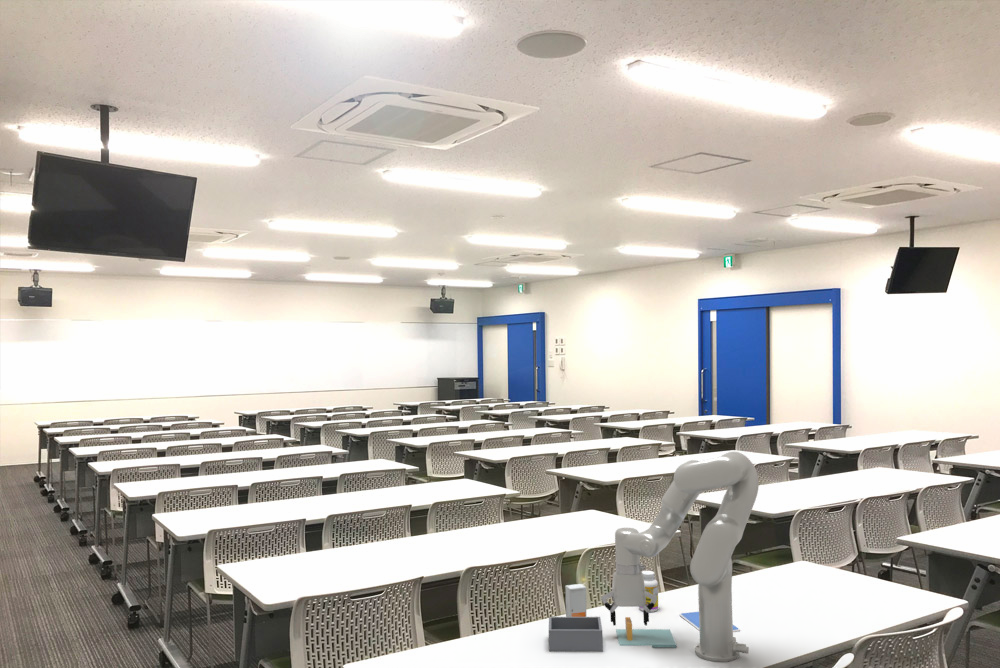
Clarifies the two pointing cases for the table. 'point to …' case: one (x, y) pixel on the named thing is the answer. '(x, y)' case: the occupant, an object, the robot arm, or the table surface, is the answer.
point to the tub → (575, 634)
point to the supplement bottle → (650, 588)
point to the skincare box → (575, 600)
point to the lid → (644, 636)
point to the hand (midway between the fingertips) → (629, 624)
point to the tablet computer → (694, 620)
